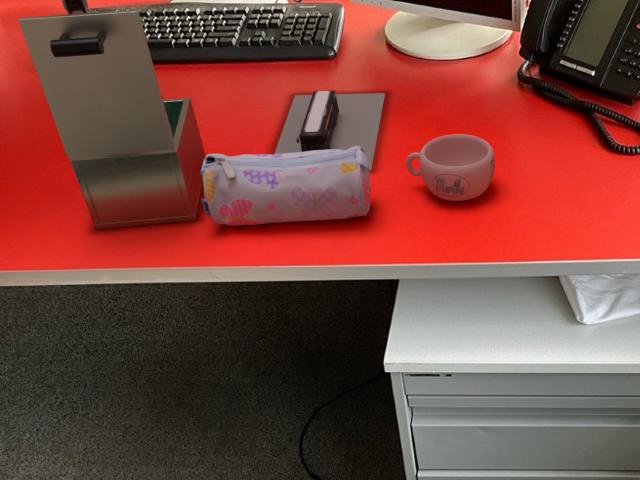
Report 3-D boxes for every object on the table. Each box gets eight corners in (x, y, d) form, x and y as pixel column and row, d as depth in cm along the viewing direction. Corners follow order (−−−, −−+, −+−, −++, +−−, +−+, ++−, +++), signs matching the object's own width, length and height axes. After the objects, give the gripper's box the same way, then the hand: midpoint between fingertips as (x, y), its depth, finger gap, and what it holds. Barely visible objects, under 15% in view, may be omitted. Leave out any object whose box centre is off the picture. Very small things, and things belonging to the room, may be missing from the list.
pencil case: (207, 237, 113) (188, 169, 106) (221, 201, 119) (204, 135, 113) (373, 231, 113) (364, 164, 107) (377, 196, 120) (369, 130, 113)
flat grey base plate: (267, 172, 125) (261, 145, 122) (295, 95, 143) (290, 69, 141) (371, 170, 125) (367, 142, 122) (385, 93, 143) (382, 67, 141)
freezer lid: (19, 17, 98) (6, 33, 94) (138, 9, 99) (130, 24, 95) (69, 156, 108) (59, 175, 104) (175, 147, 109) (170, 166, 105)
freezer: (116, 170, 126) (94, 104, 120) (207, 162, 127) (190, 97, 121) (95, 229, 115) (69, 160, 108) (196, 220, 116) (176, 151, 109)
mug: (501, 174, 123) (500, 134, 119) (488, 212, 116) (487, 171, 112) (416, 168, 125) (413, 129, 121) (399, 205, 118) (394, 165, 114)
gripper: (82, -64, 126) (117, 54, 137) (74, -89, 136) (108, 23, 147) (25, -57, 124) (65, 62, 135) (21, -83, 133) (60, 30, 145)
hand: (87, 41), depth 141 cm, fingers closed on beverage can, 6 cm apart
